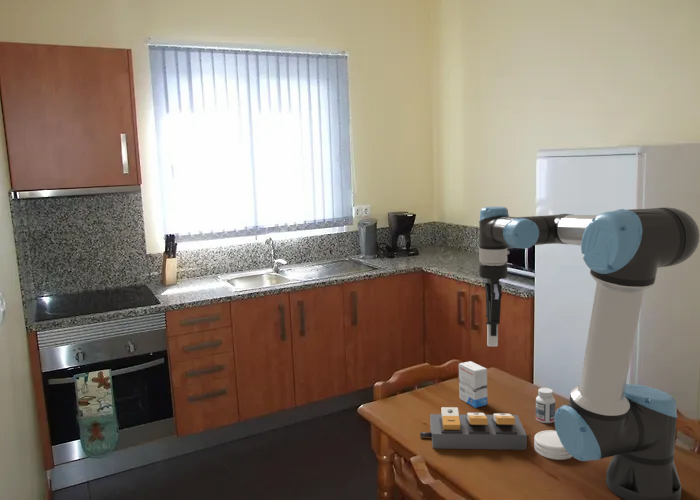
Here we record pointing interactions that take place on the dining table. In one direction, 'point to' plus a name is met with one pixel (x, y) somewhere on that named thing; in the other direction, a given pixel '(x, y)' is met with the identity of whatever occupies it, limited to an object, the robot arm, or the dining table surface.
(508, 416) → the block
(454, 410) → the rocker
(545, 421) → the pill bottle
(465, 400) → the ink box
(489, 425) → the rocker switch panel
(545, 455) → the coaster
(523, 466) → the dining table surface
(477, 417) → the rocker
